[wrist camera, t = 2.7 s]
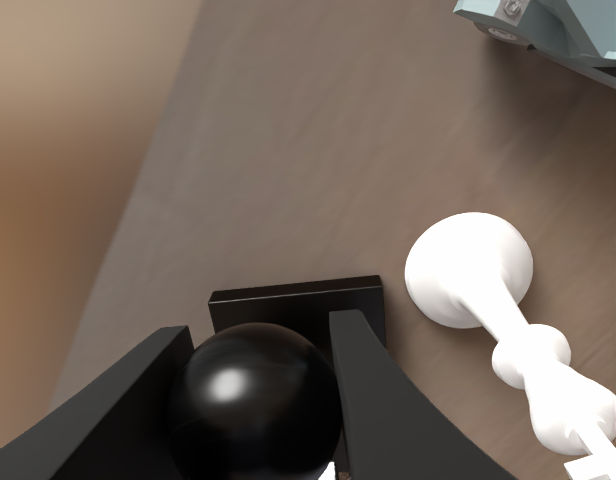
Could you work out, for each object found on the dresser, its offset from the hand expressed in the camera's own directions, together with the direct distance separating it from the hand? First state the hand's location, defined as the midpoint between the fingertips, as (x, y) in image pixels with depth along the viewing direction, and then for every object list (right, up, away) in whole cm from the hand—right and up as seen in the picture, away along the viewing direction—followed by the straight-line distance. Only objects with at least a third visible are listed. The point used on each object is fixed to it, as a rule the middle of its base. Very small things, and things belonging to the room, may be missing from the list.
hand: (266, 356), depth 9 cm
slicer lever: (0, -2, +2) cm, 3 cm away
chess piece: (+7, +1, +8) cm, 11 cm away
